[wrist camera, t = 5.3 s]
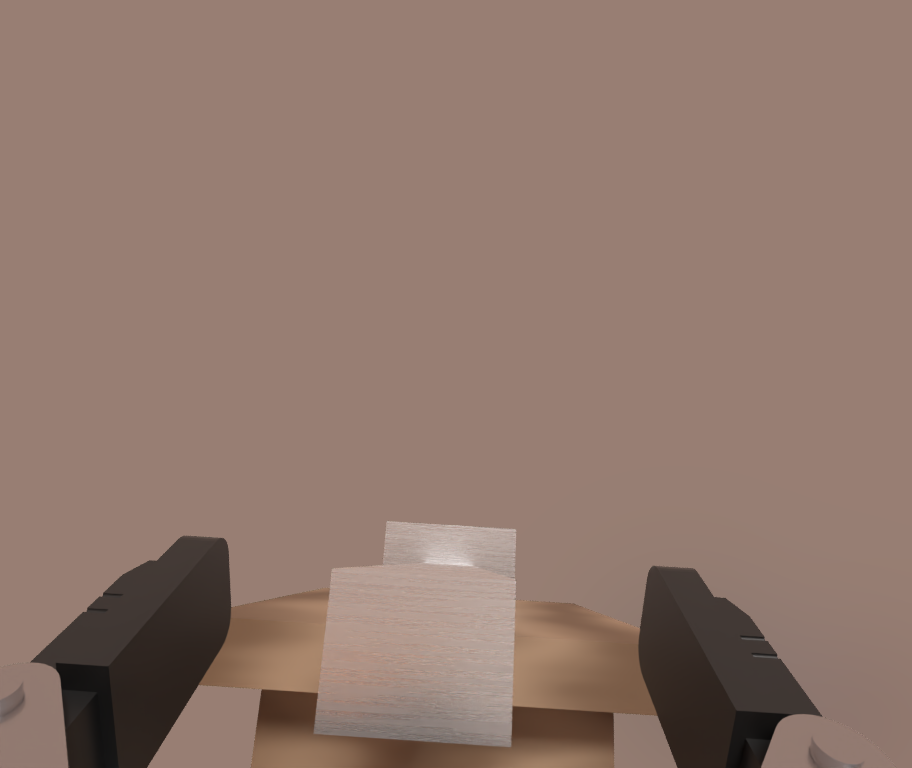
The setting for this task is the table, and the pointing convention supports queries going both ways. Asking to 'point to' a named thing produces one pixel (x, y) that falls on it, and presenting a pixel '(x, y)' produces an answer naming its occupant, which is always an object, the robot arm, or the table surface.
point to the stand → (433, 763)
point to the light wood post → (423, 639)
